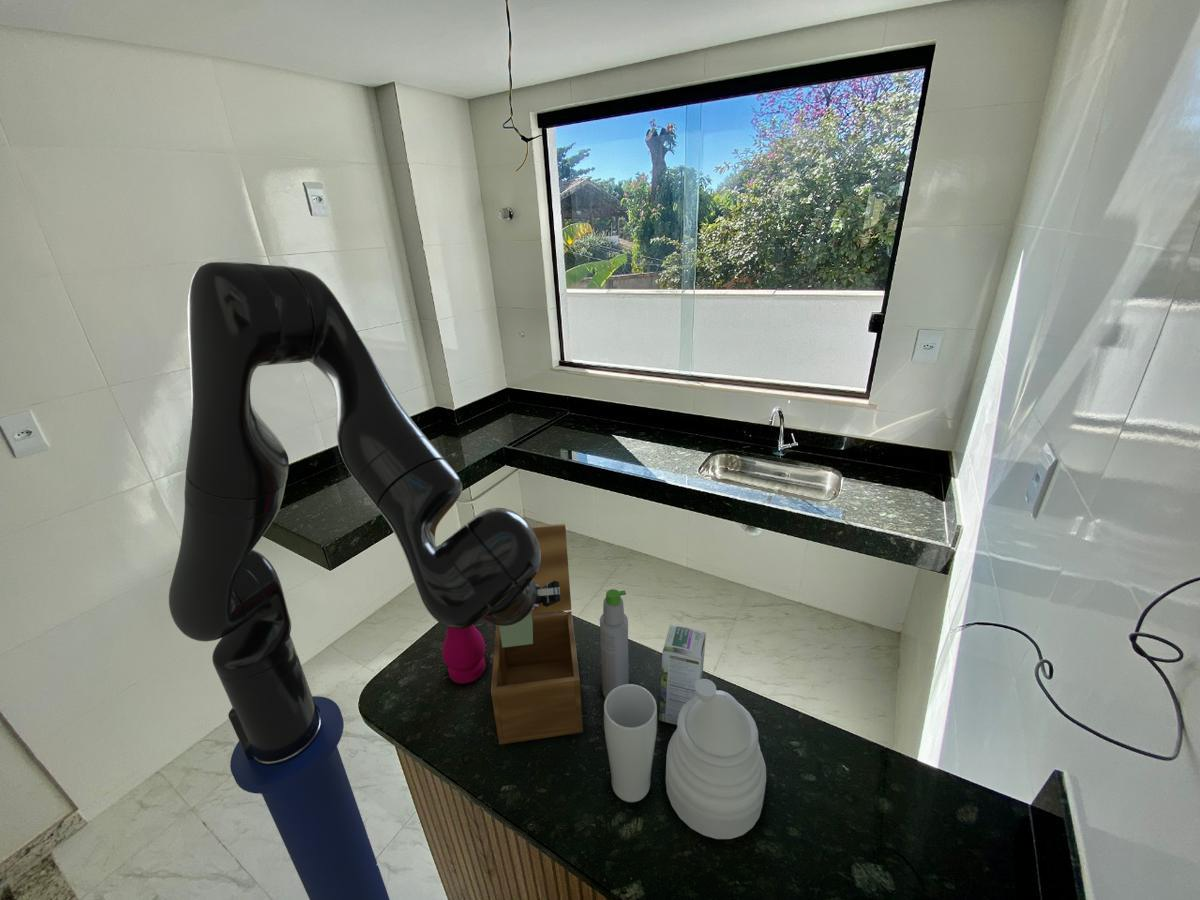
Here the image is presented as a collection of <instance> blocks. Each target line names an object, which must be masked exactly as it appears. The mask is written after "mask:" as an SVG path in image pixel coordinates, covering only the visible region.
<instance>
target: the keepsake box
mask: <svg viewBox="0 0 1200 900" xmlns="http://www.w3.org/2000/svg"><path fill="white" fill-rule="evenodd" d="M532 620H533V644H528V645H520V646H512V647H504V648H502V642H501V635H500V628H499V625H495V627H496V628H495V640H494V650H493V651H494V652H493V662H492V674H491V675H492V676H491V685H490V695H491V701H492V708H493V714H494V721H495V728H496V733H497V734H496V735H497V739H498V744H499V745H507V744H514V743H521V742H526V741H532V740H533V741H534V740H541V739H547V738H555V737H560V736H567V735H572V734H573V735H576V734H582V733H583V732H584V725H583V714H582V713H583V712H582V695H581V693H582V692H581V679H580V672H579V670H580V669H579V663H578V662H579V661H578V654H577V646H576V638H575V637H576V635H575V628H574V621H573V613H572V610H568V611H560V612H551V613H543V614H534V615H532Z"/></svg>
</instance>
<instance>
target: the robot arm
mask: <svg viewBox="0 0 1200 900" xmlns="http://www.w3.org/2000/svg"><path fill="white" fill-rule="evenodd" d="M187 333H188V334H187V335H188V350H189V352H188V353H189V367H190V368H189V370H190V384H191V386H190V387H191V410H190V411H191V412H190V427H189V441H188V451H187V452H188V453H187V458H186V459H187V460H186V466H185V478H184V493H183V494H184V510H183V511H184V512H183V521H182V529H181V530H182V531H181V537H180V545H179V551H178V555H177V559H176V563H175V567H174V570H173V574H172V578H171V581H170V586H169V591H168V592H169V593H168V607H169V612H170V616H171V618H172V621H173V622H174V624H175V626H176V628H177V629H178V630H179V631H180V632H181V633H182V634H183V635H185V636H186V637H187V638H189V639H191V640H194V641H197V642H206V643H208V642H213V641H214V642H215V641H217V640H219V641H218V643H217V644H216V645H215V647H214V649H213V652H212V656H211V659H212V665H213V667H214V669H215V671H216V674H217V676H218V678H219V680H220V683H221V685H222V687H223V690H224V692H225V694H226V696H227V698H228V701H229V703H230V705H231V709H230V710H229V712H228V714H227V715H228V719H229V722H230V723H231V726H232V728H233V731H234V733H235V735H236V737H237V739H238V742H239V741H240V743H241V746H242V748H243V750H244V752H245V755H246V757H247V759H248V760H250V759H255V761H256V762H257V763H259V764H261V765H266V766H272V765H278V764H282V763H285V762H287V761H289V760H291V759H293V758H295V757H297V756H298V755H300V754H301V753H302V752H304V751H305V750H306V749H307V748H308V747H309V746H310V745H311V744H312V743H313V742H314V741H315V739H316V738H317V736H318V734H319V732H320V729H321V723H322V722H321V718H320V715H319V714H318V712H317V710H318V711H319V712H320V709H319V708H318V707H317V705H316V704H315V703H314V700H313V697H312V696H313V695H312V692H311V689H310V686H309V684H308V681H307V678H306V675H305V671H304V669H303V667H302V663H301V660H300V658H299V655H298V652H297V649H296V646H295V644H294V641H293V638H292V635H291V632H292V621H291V617H290V613H289V609H288V605H287V601H286V597H285V593H284V590H283V586H282V584H281V579H280V577H279V575H278V573H277V571H276V569H275V568H274V565H272V563H271V562H270V560H268V558H266V556H265V555H263V554H262V553H261V552H258V551H257V550H255V547H256V546H257V544H258V543H259V542H260V540H261V539H262V538H263V536H264V535H265V533H266V532H267V530H268V529H269V528H270V526H271V525H272V523H273V521H275V519H276V517H277V515H278V513H279V511H280V509H281V506H282V503H283V501H284V495H285V490H286V485H287V480H288V477H289V476H288V475H289V470H290V462H289V461H290V460H289V456H288V453H287V450H286V448H285V446H284V444H283V443H282V442H281V439H280V438H279V437H278V436H277V435H276V434H275V432H273V430H272V429H271V428H270V427H269V425H268V424H267V423H266V422H265V421H264V420H263V419H262V417H261V416H260V415H259V413H258V412H257V410H256V409H255V407H254V406H253V404H252V400H251V399H252V398H251V385H252V378H253V375H254V373H255V371H256V369H257V368H258V367H263V366H264V367H265V366H274V365H275V366H276V365H286V364H299V363H300V364H301V363H306V362H309V363H311V364H312V365H313V366H314V367H316V368H317V369H318V370H319V371H320V372H321V373H322V374H323V375H324V377H326V378H327V380H328V381H329V383H330V384H331V386H332V388H333V391H334V395H335V401H336V439H337V440H336V441H337V446H338V447H337V448H338V450H339V454H340V456H341V459H342V461H343V464H344V465H345V468H346V470H347V471H348V472H349V474H350V475H351V477H352V478H353V480H354V481H355V483H356V484H357V485H358V487H360V489H361V490H362V491H363V492H364V493H365V495H366V497H368V499H369V500H370V501H371V503H372V504H373V505H374V507H376V509H377V510H378V511H379V512H380V514H381V515H382V517H383V518H384V519H385V521H386V522H387V523H388V525H389V526H390V528H391V530H392V533H394V535H395V537H396V539H397V542H398V543H399V546H400V548H401V550H402V552H403V555H404V557H405V560H406V562H407V565H408V568H409V572H410V573H411V577H412V580H413V582H414V585H415V588H416V591H417V593H418V595H419V598H420V600H421V602H422V605H423V606H424V608H425V609H426V611H427V613H428V614H429V615H430V616H431V617H432V618H433V619H434V620H435V621H436V622H438V623H439V624H441V625H443V626H445V627H447V626H448V627H450V628H455V629H465V628H468V627H470V626H472V625H474V626H475V624H476V623H478V622H479V621H480V620H484V621H486V622H488V623H491V624H492V625H495V626H497V625H500V626H508V625H513V624H515V623H518V622H519V621H521V620H523V619H524V618H525V617H526V616H527V615H528V614H529V613H530V611H531V610H534V609H536V608H537V607H539V606H540V605H539V604H540V603H543V606H545V607H549V606H550V605H552V604H555V603H557V602H559V601H561V598H560V586H559V582H558V581H557V582H556V581H553V582H551V583H549V584H545V586H544V587H543V588H541V587H540V586H539V585H538V584H535V582H534V580H533V578H534V577H535V575H536V574H537V572H538V570H539V567H540V563H541V551H540V546H539V543H538V540H537V537H536V535H535V533H534V531H533V530H532V528H531V527H532V526H531V525H530V524H529V522H527V520H526V519H525V518H523V516H521V515H520V514H518V513H517V512H515V511H513V510H512V509H508V508H505V507H493V508H488V509H486V510H484V511H481V512H479V513H478V514H477V515H475V516H474V517H473V518H472V519H470V520H469V521H468V522H467V523H466V524H464V525H463V526H462V527H460V528H459V529H457V530H456V531H455V532H454V533H453V534H452V535H450V536H449V537H448V538H446V539H445V540H444V541H442V542H441V543H440V544H439V545H437V544H436V531H437V528H438V526H439V524H440V522H441V521H442V520H443V518H444V517H445V516H446V515H447V514H448V512H449V511H450V510H452V507H453V506H454V505H455V504H456V502H457V501H458V500H459V498H460V496H461V494H462V493H463V492H462V491H463V481H462V479H461V478H460V476H459V475H458V473H457V472H456V471H455V469H454V468H453V467H452V466H451V465H450V464H449V462H448V461H447V460H446V459H445V457H444V456H443V455H442V454H441V453H440V451H439V450H438V449H437V448H436V447H435V445H434V444H433V443H432V442H431V440H429V438H428V437H427V436H426V435H425V433H423V432H422V430H421V429H420V428H419V427H418V426H417V424H416V422H414V421H413V419H412V418H411V417H410V415H409V414H408V413H407V412H406V410H405V409H404V407H403V406H402V405H401V403H400V402H399V400H398V399H397V397H396V396H395V394H394V392H393V391H392V390H391V388H390V386H389V384H388V382H387V381H386V379H385V377H384V376H383V374H382V372H381V370H380V369H379V367H378V365H377V364H376V362H375V360H374V358H373V357H372V354H371V352H370V351H369V349H368V348H367V347H366V344H365V343H364V341H363V340H362V338H361V336H360V335H359V332H358V331H357V329H356V327H355V326H354V324H353V322H352V321H351V319H350V317H349V315H348V314H347V312H346V311H345V309H344V308H343V306H342V304H341V302H340V301H339V300H338V298H337V297H336V295H335V293H333V291H332V290H331V288H330V287H329V286H328V285H327V284H326V282H324V280H322V279H321V278H320V277H319V276H318V275H316V274H315V273H313V272H311V271H309V270H307V269H303V268H299V267H295V266H287V265H275V264H263V263H252V262H251V263H250V262H242V261H241V262H239V261H223V260H222V261H209V262H205V263H203V264H201V265H200V266H199V267H198V268H197V269H196V271H195V272H194V274H193V276H192V278H191V281H190V285H189V290H188V297H187ZM316 708H317V709H316ZM320 714H321V712H320Z"/></svg>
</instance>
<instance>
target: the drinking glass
mask: <svg viewBox="0 0 1200 900" xmlns="http://www.w3.org/2000/svg"><path fill="white" fill-rule="evenodd" d="M603 731H604V732H603V733H604V738H605V745H606V751H607V757H608V762H609V763H608V764H609V769H610V781H611V787H612V790H613V792H614V794H615V795H616V796H617V797H618V798H619V799H620V800H622V801H624V802H627V803H636V802H639V801H641V800H643V799H644V798H645V797H646V796H647V795H648V793H649V791H650V789H651V781H652V777H651V776H652V769H653V762H654V755H655V749H656V743H657V742H656V741H657V734H658V733H657V732H658V705H657V702H656V699H655V697H654V695H653V694H652V693H651V692H650V691H649V690H648V689H646V688H645V687H643V686H641V685H637V684H634V683H629V684H625V685H621V686H618V687H616V688H614V689H613V690H612V691H611V692H610V693H609V694H608V695H607V697H606V698H605V699H604V702H603Z"/></svg>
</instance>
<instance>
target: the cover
mask: <svg viewBox="0 0 1200 900" xmlns="http://www.w3.org/2000/svg"><path fill="white" fill-rule="evenodd" d="M530 527H531V528H532V530H533V531H534V533H535V535H536V537H537V540H538V543H539V546H540V551H541V563H540V567H539V570H538V572H537V574H536V575H535V577H534V578H533V580H534V582H535V584H538V585H539V586H540V587H541V588H543V587H544V586H545V584H549V583H551V582H553V581H556V582H557V581H558V582H559V586H560V598H561V601H559V602H557V603H555V604H552V605H550V606H549V607H545V606H543V603H540V604H539V605H540V606H539V607H537V608H536V609H534V610H531V611H532V616H534V615H542V614H551V613H559V612H568V611H572V598H571V597H572V596H571V585H570V569H569V555H568V544H567V543H568V542H567V531H566V530H567V529H566V523H556V524H554V523H553V524H546V525H545V524H544V525H534V526H530Z"/></svg>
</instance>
